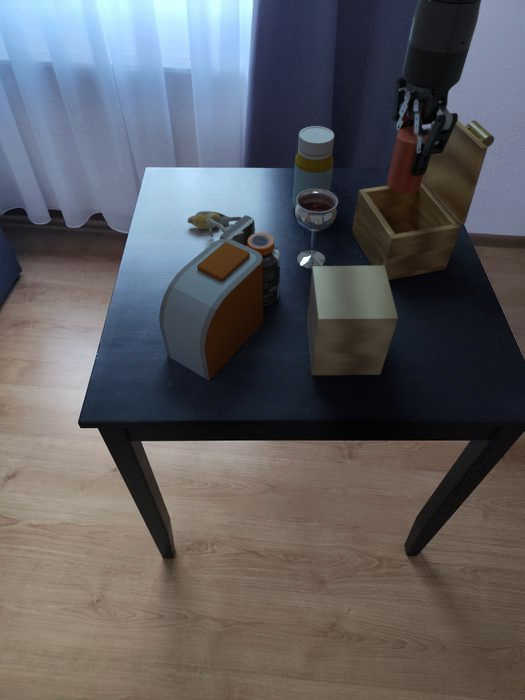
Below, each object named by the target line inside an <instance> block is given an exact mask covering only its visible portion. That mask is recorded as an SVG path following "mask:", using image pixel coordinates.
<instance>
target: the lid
mask: <svg viewBox="0 0 525 700" xmlns="http://www.w3.org/2000/svg"><path fill="white" fill-rule="evenodd" d="M449 113H450V114H451V113H452V112H450V111H449ZM432 126H433V124H430V127H432ZM438 142H439V141H437V143H436V144H438ZM494 142H495V137H494V135H492V134H491V133H490V132H489V131H488V130H487V129H486V128H485V127H483V125H481V124H480V123H479V122H478V121H476V120H471V121H469V122H468V123H467V124H466V125H464V124H463V123H462V122H461V121H460V120H459V119H458V120H457V123H456V125H455V127H454V129H453V131H452V133H451V135H450V138H449V140H448V142H447V144H446V146H445V148H444V150H443V152H442V153H439V154H432V155H431V157H430V160H429V164H428V167H427V171H426V172H425V174H424V175H423V179H422V181H423V182H424V183H425V184H426V185H427V186H428V188H429V189H430V190H431V191H432V192H433V194H434V195H435V196H436V197H437V198H438V199H439V201H440V202H441V203H442V204H443V205H444V207H445V208H446V209H447V210H448V211H449V212H450V214H451V215H452V216H453V217H454V218H455V220H456V221H457V222H458V223H459V224H460V226H462V225H466V222H467V219H468V216H469V212H470V208H471V206H472V202H473V198H474V195H475V192H476V189H477V185H478V182H479V178H480V174H481V171H482V168H483V165H484V161H485V159H486V155H487V151H488V148H489V147H491V146H492V145H493V143H494Z"/></svg>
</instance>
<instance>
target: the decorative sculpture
mask: <svg viewBox="0 0 525 700" xmlns="http://www.w3.org/2000/svg"><path fill="white" fill-rule="evenodd" d="M230 222H235V223H233V224H232V225H231V226H230V227H228V228H226V227H225V226H227V225H228V224H229V223H230ZM187 223H188V224H191V225H192V226H194V227H196V228H197V229H199V230H208V231H209V233H208V235H209V236H210V237H211V238H213V237H214V236H213V233H214V231H213V229H216V228H219V230H220V231H221V232H222V233H221V235H220V236H219V240H220V239H231V240H233V241H236V242H238V243H240V244H242V245H244V246H247V245H248V238H249V237H250V236H251V235H253V234H255V233H256V226H255V220H254V218H253V217H252V216H249V215H243V216H242V217H241V216H228V215H225V214H223V213H221V212H217V211H211V210H210V211H209V210H203V211H198V212H196V213H195V215H192V216H189V217H188V218H187Z"/></svg>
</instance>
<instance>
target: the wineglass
mask: <svg viewBox="0 0 525 700" xmlns="http://www.w3.org/2000/svg"><path fill="white" fill-rule="evenodd" d="M296 202H297V205H296V208H295V210H294V216H295V219H296V220H297V222H298V225H300V226H301V227H302V228H304V229H305V230H307V231H309V232H311V234H310V235H311V237H310V238H311V239H310V249H308V250H303V251H301V252H300V253H298V255H297V263H298V264H299V265H300V266H301V267H304V268H306V269H312V267H313V266H324V264H325V262H326V257H325V255H324V254H323V253H321V252H320V251H317V250H315V249H314V248H315V242H316V236H317V232H322V231H324V230H326V229H328V228H330V226H332V225H333V224H334V222H335V220H336V217H337V215H338V210H337V206H338V204H339V199H338V196H337V195H335V194H334V193H333V192H331V191H330V192H329V191H327V190H323V189H308V190H305V191H302V192H301V193H300V194H298V196H297V198H296Z"/></svg>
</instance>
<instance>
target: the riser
mask: <svg viewBox="0 0 525 700" xmlns="http://www.w3.org/2000/svg"><path fill="white" fill-rule="evenodd" d="M310 276H311V278H310V287H309V295H308V296H309V297H308V307H307V318H306V332H307V342H308V354H309V365H310V375H311V376H380V375H381V374H382V371H383V367H384V365H385V361H386V358H387V355H388V351H389V349H390V346H391V342H392V339H393V336H394V332H395V330H396V328H397V327H396V326H397V323H398V321H399V316H398V312H397V309H396V304H395V300H394V296H393V292H392V289H391V285H390V280H388V277H387V273H386V269H385V266H384V265H382V266H372V265H322V266H313V267H312V268H311V275H310Z"/></svg>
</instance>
